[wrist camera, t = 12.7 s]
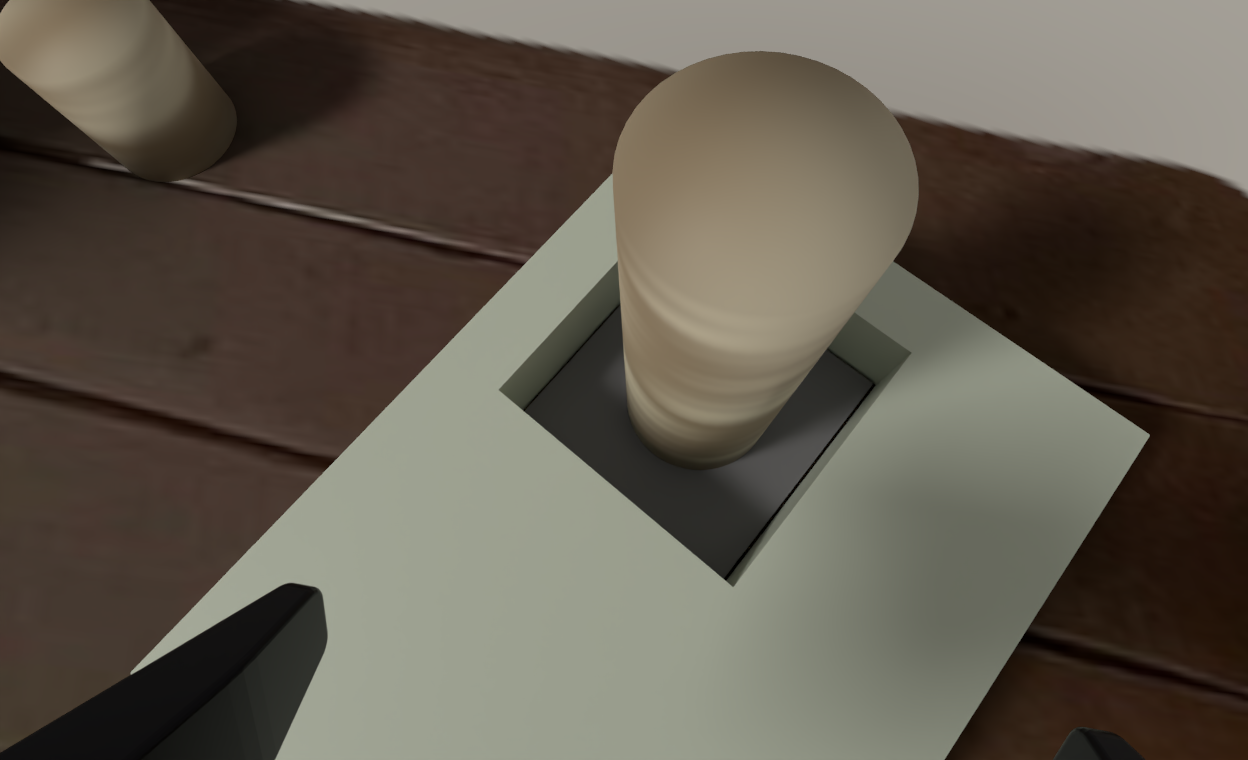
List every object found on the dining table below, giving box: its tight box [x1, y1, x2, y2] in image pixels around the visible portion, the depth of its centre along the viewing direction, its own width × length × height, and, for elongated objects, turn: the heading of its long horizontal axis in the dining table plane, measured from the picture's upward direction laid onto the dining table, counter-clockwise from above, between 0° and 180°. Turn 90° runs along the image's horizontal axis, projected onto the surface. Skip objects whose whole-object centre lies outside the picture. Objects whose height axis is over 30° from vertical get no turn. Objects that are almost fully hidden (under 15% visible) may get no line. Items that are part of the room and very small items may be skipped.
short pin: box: [0, 0, 237, 182], centre depth 23 cm, size 4×4×5 cm
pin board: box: [131, 174, 1150, 760], centre depth 19 cm, size 16×21×3 cm
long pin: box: [613, 51, 919, 470], centre depth 16 cm, size 4×4×12 cm
